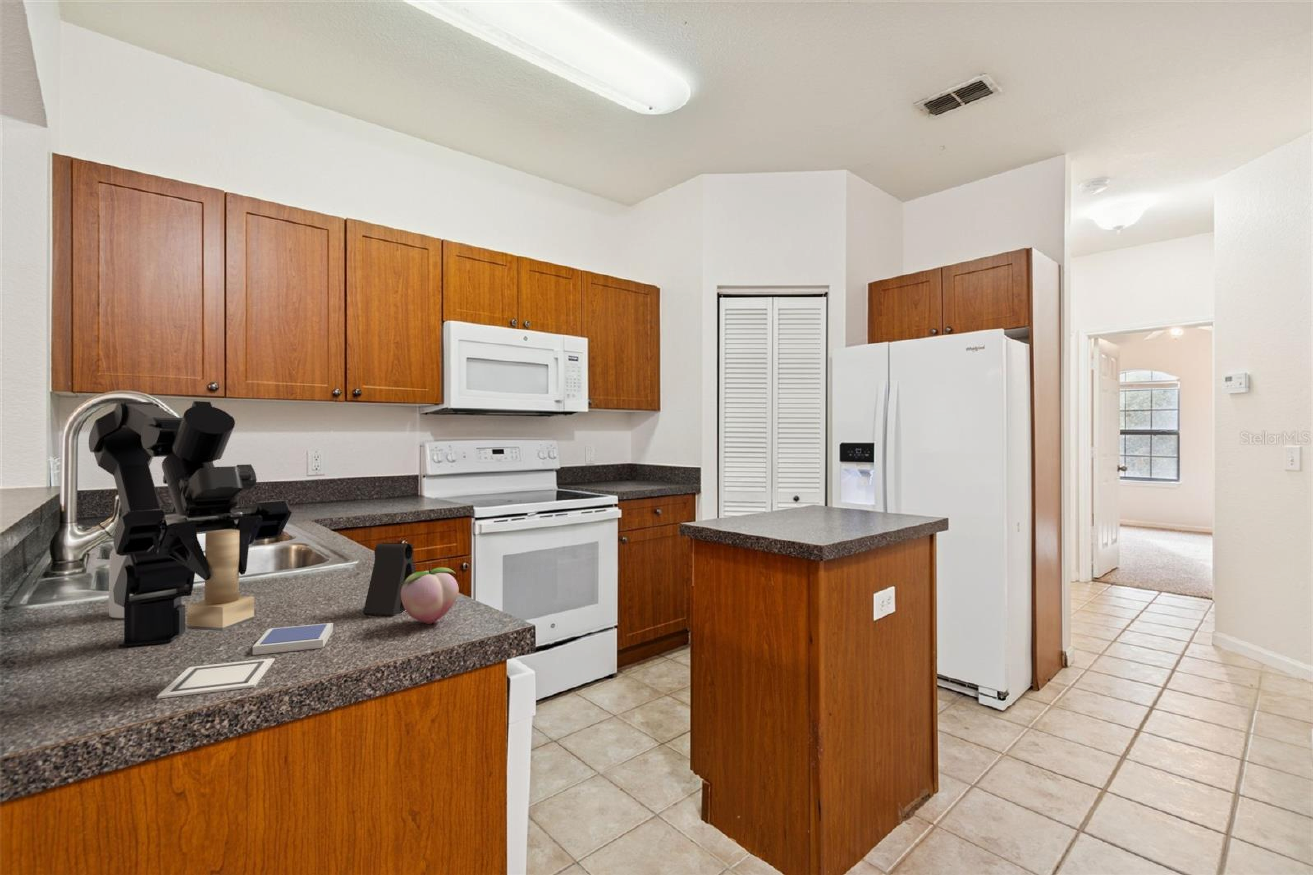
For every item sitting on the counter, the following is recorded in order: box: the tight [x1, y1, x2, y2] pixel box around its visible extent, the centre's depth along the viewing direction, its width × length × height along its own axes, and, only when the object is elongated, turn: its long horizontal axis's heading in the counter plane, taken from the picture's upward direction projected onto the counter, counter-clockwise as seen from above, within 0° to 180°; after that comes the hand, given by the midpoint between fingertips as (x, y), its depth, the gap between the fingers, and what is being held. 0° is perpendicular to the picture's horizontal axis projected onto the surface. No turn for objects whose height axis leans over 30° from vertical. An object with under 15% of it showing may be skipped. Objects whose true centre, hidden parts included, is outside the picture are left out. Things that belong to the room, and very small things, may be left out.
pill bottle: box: [108, 547, 133, 619], centre depth 109 cm, size 8×8×15 cm
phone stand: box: [362, 542, 417, 617], centre depth 112 cm, size 9×6×12 cm, turn 167°
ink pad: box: [252, 622, 334, 656], centre depth 93 cm, size 9×9×1 cm
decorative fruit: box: [401, 563, 460, 625], centre depth 103 cm, size 9×8×10 cm
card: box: [156, 657, 276, 700], centre depth 79 cm, size 10×10×1 cm
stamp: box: [186, 530, 255, 632], centre depth 79 cm, size 5×5×12 cm
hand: (226, 575), depth 78 cm, fingers closed on stamp, 4 cm apart
